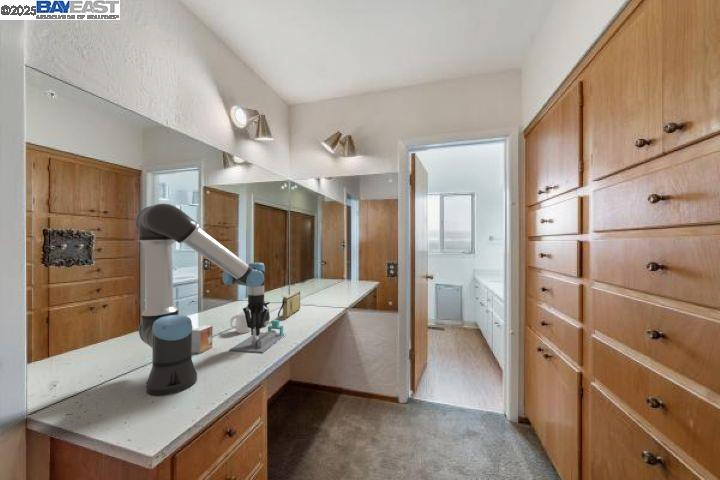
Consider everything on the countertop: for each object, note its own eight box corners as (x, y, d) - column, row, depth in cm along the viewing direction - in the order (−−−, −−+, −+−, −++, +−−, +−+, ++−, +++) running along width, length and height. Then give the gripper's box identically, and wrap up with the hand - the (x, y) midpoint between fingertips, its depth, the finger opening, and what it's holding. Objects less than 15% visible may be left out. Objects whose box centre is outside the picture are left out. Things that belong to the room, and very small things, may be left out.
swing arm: (267, 336, 149) (267, 331, 149) (270, 337, 148) (270, 331, 149) (251, 347, 134) (251, 341, 134) (255, 347, 134) (255, 341, 134)
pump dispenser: (266, 328, 167) (266, 302, 167) (249, 328, 167) (249, 302, 167) (272, 323, 177) (272, 299, 177) (255, 323, 177) (256, 299, 177)
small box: (200, 353, 128) (200, 330, 128) (189, 352, 129) (189, 329, 129) (212, 347, 136) (213, 325, 136) (202, 346, 137) (202, 324, 137)
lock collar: (269, 333, 155) (269, 319, 155) (283, 333, 154) (283, 320, 154) (267, 334, 153) (267, 320, 153) (281, 335, 152) (281, 321, 152)
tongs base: (272, 335, 151) (272, 330, 151) (277, 335, 151) (277, 330, 151) (254, 347, 134) (254, 341, 134) (261, 348, 133) (261, 341, 133)
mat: (263, 353, 129) (263, 351, 129) (229, 350, 131) (229, 349, 131) (286, 334, 154) (286, 333, 154) (257, 333, 157) (257, 332, 157)
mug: (226, 333, 157) (226, 315, 157) (233, 329, 165) (233, 311, 165) (248, 333, 157) (248, 315, 157) (254, 329, 165) (254, 311, 165)
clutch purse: (292, 309, 214) (292, 289, 214) (301, 310, 213) (301, 290, 213) (275, 320, 184) (275, 297, 184) (285, 320, 183) (285, 297, 183)
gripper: (272, 293, 142) (271, 340, 141) (248, 292, 144) (247, 338, 143) (264, 295, 134) (263, 345, 134) (239, 294, 136) (238, 343, 136)
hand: (255, 342), depth 139 cm, fingers closed
